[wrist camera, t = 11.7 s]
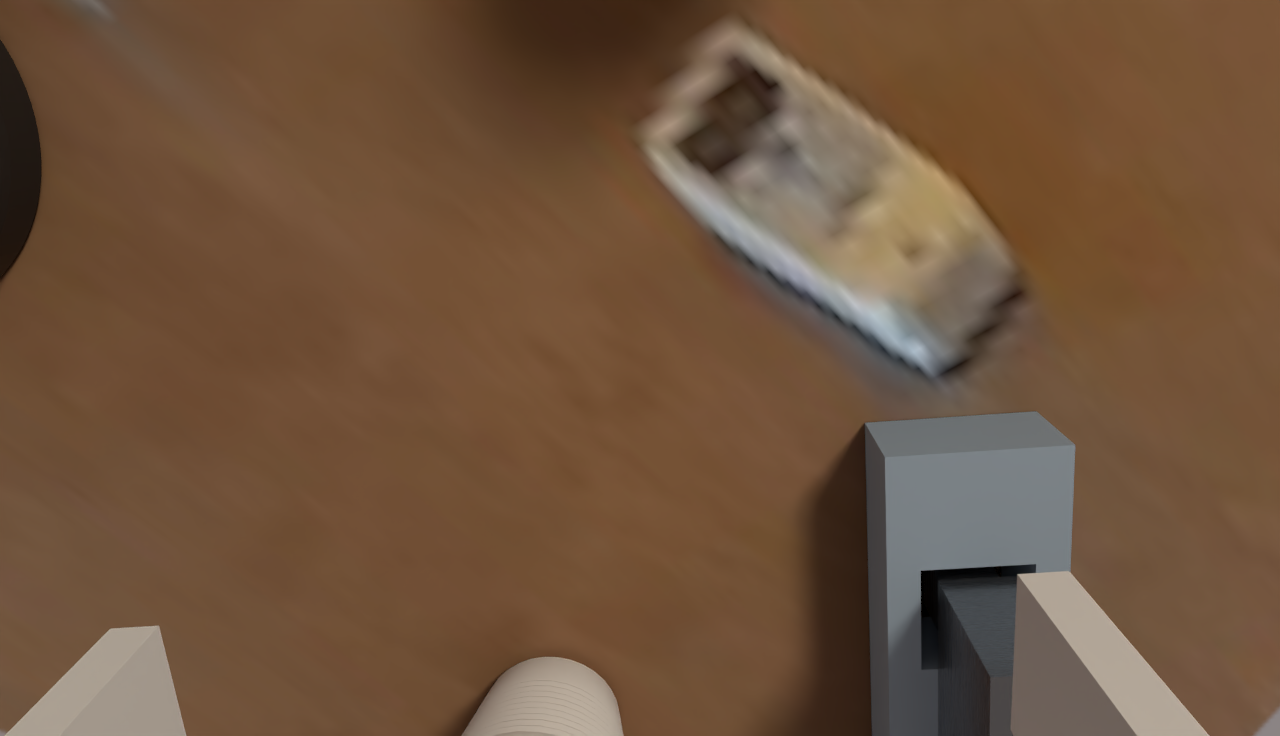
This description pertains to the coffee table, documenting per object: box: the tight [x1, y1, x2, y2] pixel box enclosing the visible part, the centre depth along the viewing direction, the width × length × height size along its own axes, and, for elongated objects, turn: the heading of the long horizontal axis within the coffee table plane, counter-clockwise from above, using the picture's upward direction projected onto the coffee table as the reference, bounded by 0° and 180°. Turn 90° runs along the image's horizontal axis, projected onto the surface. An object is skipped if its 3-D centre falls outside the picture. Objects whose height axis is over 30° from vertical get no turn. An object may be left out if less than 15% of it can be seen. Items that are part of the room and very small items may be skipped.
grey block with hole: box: [865, 411, 1075, 736], centre depth 41 cm, size 7×22×4 cm, turn 5°
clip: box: [924, 567, 1017, 736], centre depth 37 cm, size 3×12×10 cm, turn 5°
